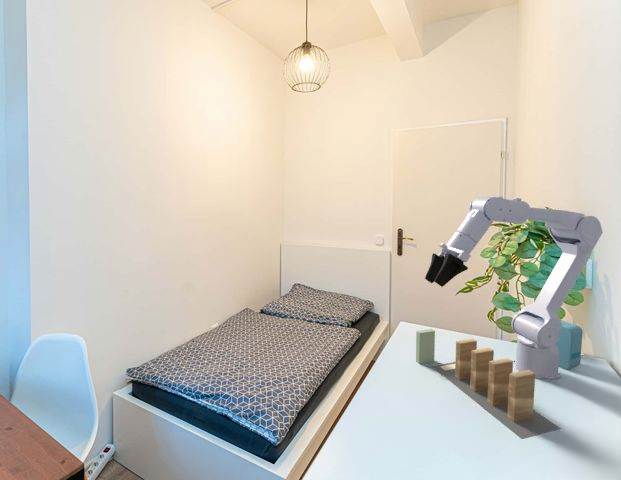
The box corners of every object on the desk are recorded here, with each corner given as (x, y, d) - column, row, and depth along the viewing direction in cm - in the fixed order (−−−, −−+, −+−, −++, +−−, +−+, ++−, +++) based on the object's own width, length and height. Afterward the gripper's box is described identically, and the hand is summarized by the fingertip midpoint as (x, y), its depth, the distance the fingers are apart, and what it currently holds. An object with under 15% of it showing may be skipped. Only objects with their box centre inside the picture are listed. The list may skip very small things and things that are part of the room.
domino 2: (470, 388, 80) (471, 350, 79) (487, 385, 81) (488, 347, 80) (474, 392, 78) (476, 353, 77) (492, 388, 79) (493, 350, 78)
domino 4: (507, 417, 69) (509, 373, 68) (525, 412, 70) (528, 369, 69) (513, 422, 68) (516, 377, 66) (532, 417, 69) (535, 373, 68)
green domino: (415, 363, 94) (416, 330, 93) (430, 361, 95) (431, 328, 94) (419, 366, 93) (419, 333, 91) (434, 363, 94) (434, 330, 92)
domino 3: (487, 401, 74) (489, 361, 73) (505, 398, 76) (507, 357, 74) (492, 406, 73) (494, 364, 72) (510, 402, 74) (513, 361, 73)
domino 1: (455, 377, 85) (456, 341, 84) (471, 374, 86) (472, 338, 85) (459, 380, 84) (460, 343, 82) (475, 377, 85) (476, 341, 83)
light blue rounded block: (580, 368, 89) (583, 326, 88) (569, 371, 88) (572, 329, 86) (536, 349, 100) (539, 312, 99) (526, 352, 99) (528, 315, 97)
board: (461, 363, 93) (461, 360, 93) (561, 432, 66) (561, 428, 65) (431, 368, 91) (431, 365, 91) (521, 442, 63) (521, 438, 63)
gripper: (442, 230, 87) (412, 270, 87) (464, 226, 73) (428, 275, 73) (463, 245, 87) (433, 286, 87) (490, 245, 72) (454, 294, 72)
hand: (432, 282), depth 80 cm, fingers open, 7 cm apart
